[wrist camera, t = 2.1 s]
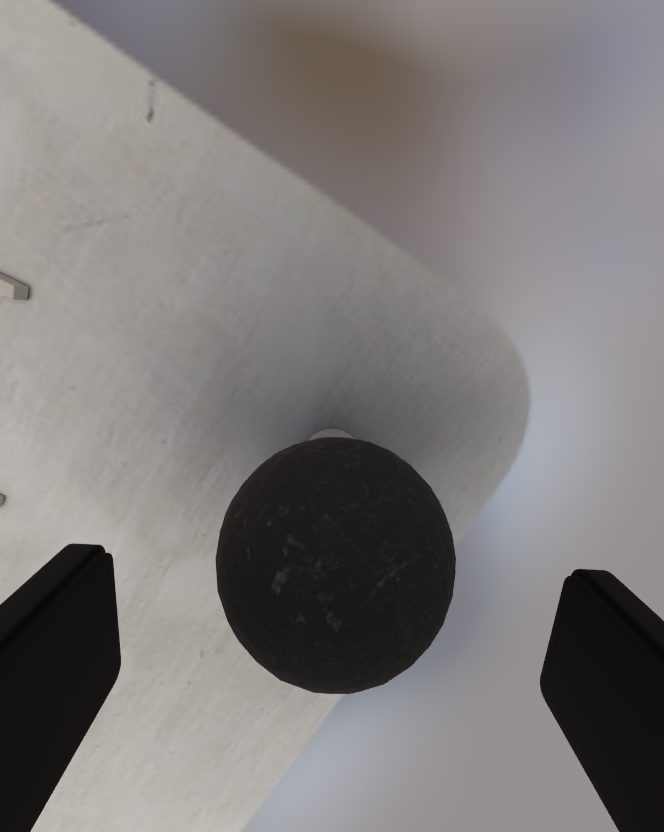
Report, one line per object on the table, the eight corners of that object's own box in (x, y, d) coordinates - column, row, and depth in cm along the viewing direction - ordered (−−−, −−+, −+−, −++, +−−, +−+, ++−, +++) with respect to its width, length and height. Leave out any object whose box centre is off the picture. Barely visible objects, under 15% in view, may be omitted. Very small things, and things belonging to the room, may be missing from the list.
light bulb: (237, 462, 17) (115, 677, 7) (318, 355, 15) (306, 437, 6) (342, 533, 18) (362, 809, 8) (426, 438, 16) (567, 625, 7)
